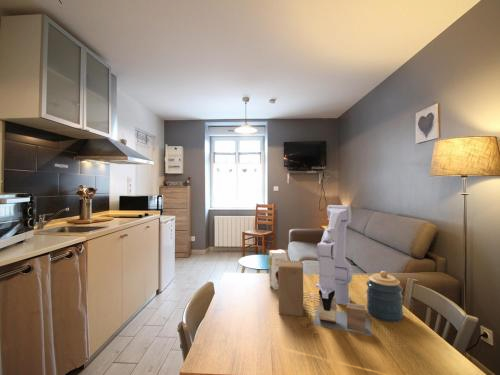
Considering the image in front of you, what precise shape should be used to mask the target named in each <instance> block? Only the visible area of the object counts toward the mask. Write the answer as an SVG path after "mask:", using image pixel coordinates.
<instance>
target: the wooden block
mask: <svg viewBox="0 0 500 375" xmlns="http://www.w3.org/2000/svg"><path fill="white" fill-rule="evenodd" d="M277 291H278V314H279V315H284V316H290V317H291V316H292V317H303V316H304V263H303V261H301V260H288V259H287V260H281V261H280V263H279V267H278V290H277Z"/></svg>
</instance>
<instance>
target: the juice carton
mask: <svg viewBox="0 0 500 375" xmlns="http://www.w3.org/2000/svg"><path fill="white" fill-rule="evenodd" d="M268 252H269V254H268V283H269V286H270V287H271V288H272V289H273V290H274V291H276V290H277V291H278V267H279V263H280V261H281V260H288V254H287V251H285V250H283V249H280V248H279V249H276V250H275V249H271V250H269V251H268Z"/></svg>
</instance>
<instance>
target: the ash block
mask: <svg viewBox="0 0 500 375" xmlns="http://www.w3.org/2000/svg"><path fill="white" fill-rule="evenodd" d="M318 296H319V298H318V301H319V302H318V308H319V319H322V320H328V321H333V322H336V311H337V304H336V298H333V299H332V302H331V309H330V311H326V310H324V308H323V303H322V299H321V297H320V295H318Z"/></svg>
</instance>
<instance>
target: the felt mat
mask: <svg viewBox="0 0 500 375" xmlns="http://www.w3.org/2000/svg"><path fill="white" fill-rule="evenodd" d="M312 325H314V326H320V327H324V328H329V329H334V330H338V331H343V332H347V333H354V334H357V335H358V334H359V335H363V336H368V337H373V333H372V328H371V320H370V316H368V315H365V332H366V333H361V332H356V331H351V330H347V311H339V310H336V322H333V321H328V320H322V319H319V307H317V308H316V310H315V315H314V319H313V322H312Z"/></svg>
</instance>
